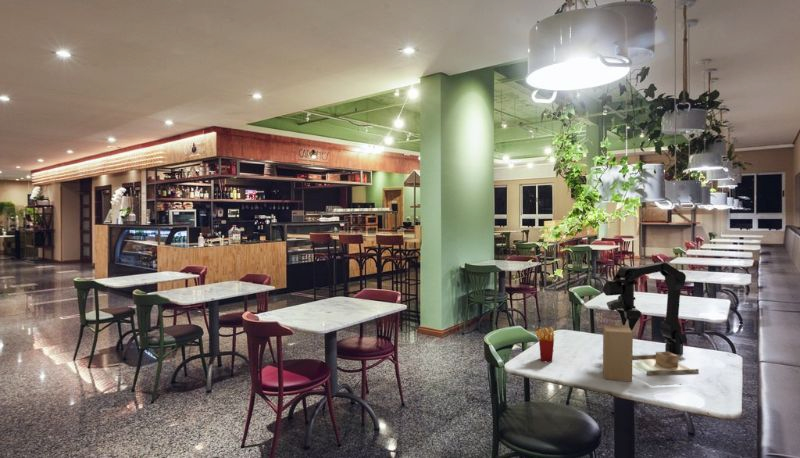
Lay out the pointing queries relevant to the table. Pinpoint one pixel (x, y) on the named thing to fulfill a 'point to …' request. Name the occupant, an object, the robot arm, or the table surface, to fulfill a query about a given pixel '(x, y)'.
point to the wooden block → (617, 353)
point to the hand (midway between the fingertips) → (627, 327)
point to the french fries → (546, 344)
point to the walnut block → (667, 359)
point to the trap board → (658, 366)
